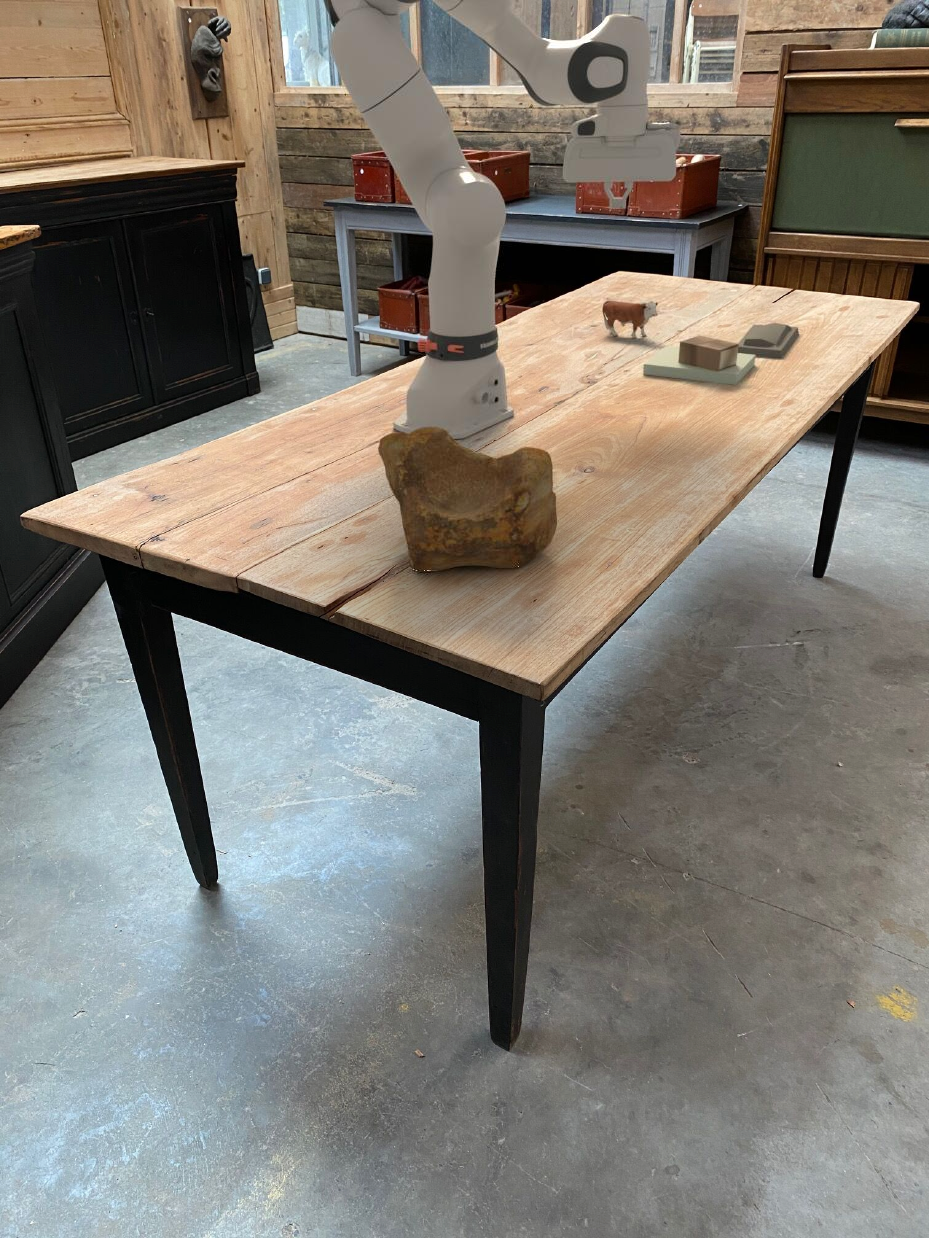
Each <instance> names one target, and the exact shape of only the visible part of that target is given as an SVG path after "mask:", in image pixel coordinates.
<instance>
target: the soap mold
mask: <svg viewBox="0 0 929 1238" xmlns="http://www.w3.org/2000/svg"><path fill="white" fill-rule="evenodd" d="M799 335H800V332H799V327H797V326H790V325H788V324H783V323H777V322H771V323H768V324H752V326H751V327H750V328H749V329H748V331H746V333H745V335H744V336H743V337H742V338H741V339H740V341H738V344H739V346H738V353H742V354H752V355H756V356H755V357H766V358H774V359H783V358H784V356H785V355H786V353H787V352H788V351H789V349H790V347H791V346H792V345H793V343H794V342H795V341H796V340H797V338H798V336H799Z"/></svg>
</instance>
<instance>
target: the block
mask: <svg viewBox="0 0 929 1238" xmlns="http://www.w3.org/2000/svg"><path fill="white" fill-rule="evenodd" d="M738 343H739V342H738ZM738 343H736V342H732V341H728V340H722V339H719V338H713V337H709V336H704V335H697V336H693V337H690V338H687V339H684V340H681V341H679V347H680V349H679V360H678V362H679V363H683V364H687V365H691V366H695V367H700V368H704V369H708V370H712V371H716V372H717V371H720V370H723V369H726V368H729V367H732V366H735V365H736V363H737V354H738V346H739V344H738Z"/></svg>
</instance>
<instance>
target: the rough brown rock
mask: <svg viewBox="0 0 929 1238" xmlns="http://www.w3.org/2000/svg"><path fill="white" fill-rule="evenodd" d="M378 444H379V445H378V448H377V451H378V453H379V456H380V458H381V460H382V463H383V465H384V470H385V471H384V472H385V477H386V479H387V482H388V485H389V487H390V490H391V492H392V494H393V496H394V497H395V499H396V500H397V502H398V505H399V509H400V515H401V516H400V517H401V521H402V528H403V529H402V530H403V533H404V536H405V541H406V546H407V551H408V557H409V559H408V560H409V561H408V563H409V565H411V566H410V569H411V568H412V569H414V570H417V571H424V570H425V571H427V570H440V571H444V570H446V569H447V570H448V569H451V568H455V567H465V566H480V567H482V566H483V567H489V568H497V569H515V568H514V567H518V566H519V567H518V568H521V567H523V566H524V565H525V564H527V562H528V561H529V560H531V559H535V558H537V557H538V556H539V555H540V554H541V553H543V551H544V550H545V549H547V547H549V545H550V544H551V542H552V541H553V539H554V536H555V534H556V530H557V527H558V515H557V504H556V503H557V495H556V493H555V492H554V490H553V488H554V487H553V486H554V479H553V473H554V472H553V466H554V465H553V461H552V458H551V455H550V453H549V452H548V451H546V450H544V449H542V448H538V447H532V446H531V447H530V446H524V447H520V448H519V449H517V450H515V451H514V452H512V453H509V454H504V455H502V456H500V457H494V456H493V457H492V456H490V455H487V454H485V453H481V452H477V451H475V450H472V449H469V448H467V447H465V446H463V445H460V444H459V443H458V442H457V441H456V439H453V438H452V437H451V436H450V435H449V434H448V432H447V431H446V430H444V429H442V428H439V427H422V428H420V429H416V430H414V431H412V432H411V433H409V434H407V433H405V432H401V431H399V432H392V433H388V434H387V435H384V436H383V437H381V438H380V439H379V443H378ZM520 566H521V567H520ZM412 569H411V570H412ZM443 569H444V570H443Z"/></svg>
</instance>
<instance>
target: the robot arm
mask: <svg viewBox="0 0 929 1238" xmlns="http://www.w3.org/2000/svg"><path fill="white" fill-rule="evenodd" d="M420 1H421V0H323V3H324V7H325V9H326V11H327V13H328V15H329V21H330V24H331V25H332V27H333V29H332V33H331V35H330V39H329V49H330V53H331V56H332V58H333V62H334V64H335V66H336V69H337V71H338V73H339V76H340V78H341V80H342V82H343V84H344V87H345V89H346V90H347V92H348V94H349V96H350V98H351V100H352V102H353V103H354V105H355V107H356V108H357V110H358V112H359V113H360V115H361V117H362V118H363V120H364V121H365V123H366V125H367V126H368V128H369V130H370V132H371V133H372V134H373V136H374V138H375V139H376V141H377V143H378V145H379V146H380V148H381V149H382V151H383V153H384V154H385V156H386V157H387V159H388V161H389V163H390V165H391V166H392V169H393V170H394V172H395V174H396V176H397V179H398V180H399V182H400V183H401V184H400V185H402V188H403V190H404V191H405V193H406V195H407V197H408V198H409V200H410V202H411V204H412V206H413V207H414V208H413V209H414V210H415V211H416V213H417V215H418V216H419V219H420V220H421V222H422V223H423V224H424V226H425V227H426V229H428V231H430V232H432V255H431V256H432V257H431V265H430V273H429V278H428V281H427V283H428V284H427V285H428V286H427V287H428V302H429V303H428V305H429V324H430V328H429V329H428V333H427V337H426V339H422V338H420V339H419V340H418V342H417V350H418V352H421V353H422V352H425V355H426V356H425V357H424V360H423V362H422V364H421V365H420V367H419V369H418V371H417V373H416V374H415V376H414V379H413V380H412V382H411V384H410V386H409V387H408V389H407V392H406V410H405V411H403V413H402V414H401V415H400V416H398V418H396V419H395V420H394V421H393V429H394V430H396V431H399V432H405V433H407V434H409V433H411V432H412V431H414V430H416V429H420V428H422V427H439V428H442V429H444V430H446V431H447V432H448V434H449V435H450V436H451V437H452V438H453V439H454V440H457V439H461V440H462V439H466V438H468V437H469V436H472V435H475V434H476V433H478V432H481V431H483V430H485V429H487V428H489V427H491V426H494V425H496V424H498V423H500V422H502V421H505V420H506V419H509V418H511V417H513V416H514V415H515V411H514V408H513V407H512V406H510V405H509V404H508V393H507V392H508V391H507V380H506V372H505V371H506V370H505V366H504V364H503V363H502V362H501V360H500V358H499V356H498V353H497V351H498V349H499V334H498V327H497V326H496V318H495V317H496V316H495V315H496V309H495V308H496V307H495V306H496V301H495V300H496V299H495V297H496V296H495V295H496V294H495V290H496V289H495V286H496V285H495V280H496V279H495V278H496V271H497V269H496V268H497V264H498V263H497V262H498V257H499V251H500V242H501V234H502V230H503V229H504V226H505V223H506V218H507V210H506V209H507V208H506V204H505V200H504V198H503V196H502V194H501V191H500V190H499V188H498V187H497V186H496V184H495V183H494V182H493V181H492V180H491V179H490V178H488V176H486V175H484V174H482V173H479V172H475V171H474V169H473V168H472V167H471V165H470V164H469V163H468V161H467V159H466V157H465V155H464V152H463V150H462V148H461V145H460V143H459V140H458V138H457V137H456V134H455V132H454V129H453V127H452V121H451V119H450V116H449V114H448V113H447V111H446V109H445V107H444V106H443V103H442V102H441V100H440V99H439V97H438V95H437V93H436V91H435V89H434V87H433V86H432V84H431V82H430V81H429V79H428V77H427V75H426V73H425V72H424V70H423V68H422V67H421V65H420V63H419V61H418V60H417V58H416V56H415V55H414V53H413V51H412V50H411V49H410V47H409V45H408V44H407V43H406V40H405V37H404V34H403V31H402V26H401V25H402V24H401V16H400V15H401V14H402V13H404V12H405V11H407V10H408V9H409V8H411V7H412V6H414V4H415V3H418V2H420ZM431 1H432V2H433V3H434V4H436V5H437V6H438V7H439V8H440V9H442V10H443V11H444V12H445V13H447V14H448V15H449V16H450V17H452V18H453V19H454V20H456V21H457V22H458V23H460V24H462V25H463V26H464V27H466V28H468V29H469V30H470V31H471V32H472V33H474V34H475V35H476V36H477V37H478V39H480V40H481V41H482V42H483V43H484V44H485V45H486V46H487V47H488V48H490V49H491V50H492V51H493V52H494V53H495V54H496V55H497V56H498V57H500V58H501V59H502V60H503V61H504V62H505V63H506V64H507V65H509V67H511V69H512V70H514V71H515V72H516V74H517V76H518V77H519V79H520V80H521V82H522V84H523V86H524V89H525V90H526V91H527V93H528V94H529V96H530V97H531V99H532V100H533V101H534V102H535V103H537V104H538V105H541V106H544V107H554V106H560V105H561V106H563V105H564V106H591V105H593V104H595V103H596V112H595V114H593V115H591V114H590V115H587V116H586V117H585V118H583V119H580V120H577V121H575V122H573V123H572V125H571V127H570V134H571V136H572V138H571V139H569V141H568V143H567V145H566V147H565V151H564V152H565V153H564V157H563V158H564V159H563V165H562V166H563V167H562V178H563V179H564V181H565V182H566V183H603V182H604V183H603V189H604V191H605V193H606V196H607V198H608V199H609V206H608V209H609V210H616V209H617V210H620V209H621V210H626V209H627V199H628V196H629V195H630V193H631V191H632V190H633V187H634V182H671V181H672V180H673V179H675V177H676V176H677V175H676V174H677V153H676V151H677V150H679V148H680V145H681V138H682V135H681V130H680V128H679V127H678V126H676V125H675V124H673V123H672V122H664V123H661V122H660V123H659V122H648V110H649V109H648V107H649V100H648V99H649V98H648V94H647V87H648V82H649V79H650V74H651V54H652V53H651V49H652V48H651V47H652V46H651V33H650V28H649V25H648V23H647V22H646V21H645V20H644V18H642V17H640V16H637V15H632V14H623V13H615V14H609V15H606V16H605V17H604V19H603V21H602V22H601V23H600V24H599V25H598V26H597V27H596V28H594V29H593V30H591V31H590V32H589V33H587V34H585V35H583V36H581V37H580V39H569V40H558V39H555V40H554V39H548V38H543V37H542V36H539V35H538V34H536V33H535V31H534V30H533V29H532V28H530V27H529V26H528V25H527V24H526V23H525V22H524V21H523V19H521V18H520V17H519V16H518V15H517V14H516V13H515V12H514V11H513V10H512V9H511V5H512V2H513V0H431ZM614 182H615V183H618V182H619V183H621V182H624V189H626V190H625V192H624V194H623V196H622V197H621V196H619V197H618V196H616V197H615V196H614V194H613V192H612V190H611V189H612V188H613V184H614Z"/></svg>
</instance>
